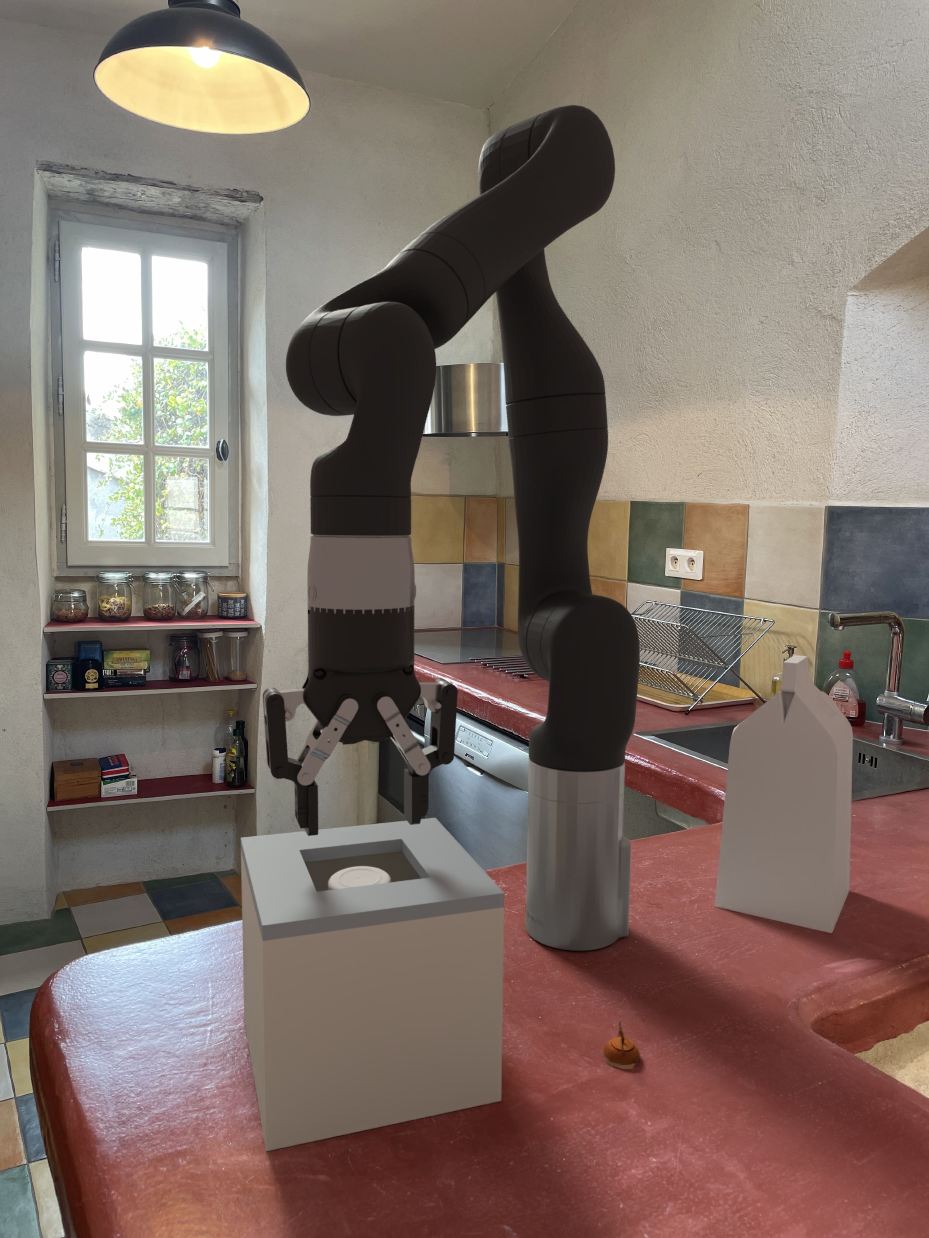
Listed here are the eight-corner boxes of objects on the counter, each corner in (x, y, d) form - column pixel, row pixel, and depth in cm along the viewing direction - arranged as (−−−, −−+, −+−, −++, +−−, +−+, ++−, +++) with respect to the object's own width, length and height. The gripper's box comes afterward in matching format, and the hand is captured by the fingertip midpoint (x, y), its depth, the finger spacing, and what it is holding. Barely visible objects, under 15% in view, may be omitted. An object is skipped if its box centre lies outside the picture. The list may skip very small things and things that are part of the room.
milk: (742, 868, 103) (752, 647, 100) (849, 890, 97) (863, 656, 95) (714, 906, 93) (725, 661, 90) (831, 933, 87) (846, 672, 84)
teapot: (594, 1059, 67) (595, 1025, 66) (618, 1042, 69) (619, 1010, 68) (626, 1076, 65) (627, 1041, 64) (650, 1059, 67) (650, 1025, 66)
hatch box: (434, 986, 76) (435, 817, 75) (501, 1100, 61) (504, 892, 60) (244, 1017, 71) (240, 837, 70) (265, 1151, 56) (262, 925, 55)
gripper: (442, 594, 68) (441, 802, 70) (252, 597, 64) (256, 820, 66) (474, 602, 61) (472, 833, 63) (263, 607, 57) (267, 856, 59)
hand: (362, 826), depth 64 cm, fingers open, 7 cm apart
